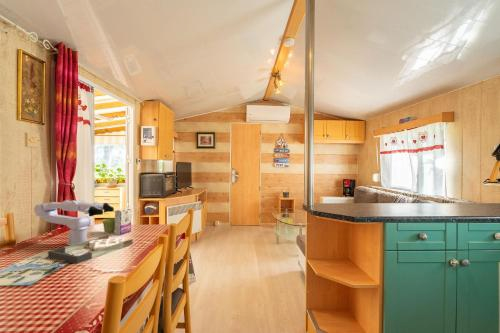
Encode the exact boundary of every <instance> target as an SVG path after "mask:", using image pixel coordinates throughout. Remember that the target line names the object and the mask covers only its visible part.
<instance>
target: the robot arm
mask: <svg viewBox="0 0 500 333" xmlns="http://www.w3.org/2000/svg"><path fill="white" fill-rule="evenodd" d="M58 209H61V210H62V211H67V212H68V211H70V212H81V213H83V214H85V216H83V217H82V216H80V217H75V216H74V217H73V216H70V215H63V214H58ZM33 210H34V213H35V216H36V217H39V218H42V219H43V220H44V221H45V222H47V223H51V224H58V225H63V226H67V228H69V231H68V234H67V235H68V239H67V243H66V245H68V246H70V245H74V244H77V243H81V242H85V241H88V229H89V226H90V225H91V224H92V223H91V222H92V220H91V218H90V217H94V216H98V215H99V216H102V215H103V214H104V213H107V212H109V213H110V212H115V208H114V207H113V206H111V205H110V204H109V203H107V202H103V203H102V204H100V203H98V201H94V202H87V201H86V202H85V201H84V200H75V199H73V200H70V199H65V200H63V201H62V202H59V201H58V202H57V201H53V202H45V203H39V204H36V205H35V206H34V208H33ZM87 214H88V216H86V215H87Z"/></svg>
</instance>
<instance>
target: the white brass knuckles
mask: <svg viewBox="0 0 500 333" xmlns="http://www.w3.org/2000/svg"><path fill="white" fill-rule="evenodd" d="M124 241H125V238H122V237H121V238H120V237H119V238H115V237H114V238H111V237H110V238H109V239H100V240H93V241H90V242H89V246H88V247H89V249H93V251H96V250H99V249H102V248H105V247H108V246H112V245H115V244H118V243H121V242H124Z"/></svg>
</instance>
